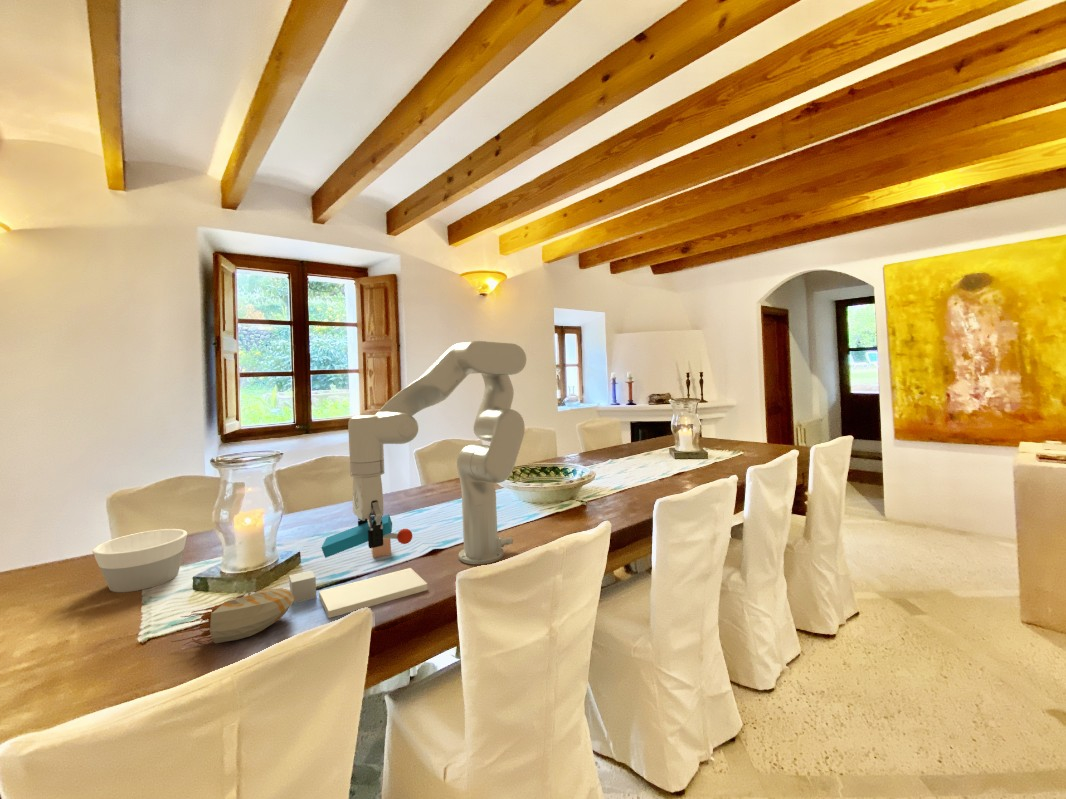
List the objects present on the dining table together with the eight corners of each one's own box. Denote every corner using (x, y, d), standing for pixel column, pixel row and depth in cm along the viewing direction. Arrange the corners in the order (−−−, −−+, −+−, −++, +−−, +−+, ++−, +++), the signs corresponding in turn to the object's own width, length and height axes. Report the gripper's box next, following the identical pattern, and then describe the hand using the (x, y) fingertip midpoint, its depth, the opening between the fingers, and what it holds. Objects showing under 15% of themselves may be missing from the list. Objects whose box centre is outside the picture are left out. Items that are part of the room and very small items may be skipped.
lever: (332, 577, 107) (414, 545, 111) (321, 547, 106) (404, 516, 110) (337, 565, 114) (414, 535, 118) (326, 537, 113) (404, 508, 117)
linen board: (410, 573, 124) (410, 567, 124) (427, 589, 114) (427, 583, 114) (319, 597, 112) (318, 591, 112) (329, 618, 102) (328, 611, 102)
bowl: (137, 599, 114) (134, 555, 114) (74, 594, 118) (71, 552, 117) (207, 567, 133) (204, 529, 132) (151, 564, 137) (148, 527, 136)
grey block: (313, 590, 116) (312, 570, 116) (316, 597, 112) (315, 576, 112) (290, 595, 113) (289, 575, 113) (292, 603, 109) (291, 582, 109)
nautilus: (157, 668, 87) (191, 630, 101) (287, 638, 93) (301, 607, 107) (152, 625, 86) (186, 594, 101) (282, 598, 93) (297, 572, 107)
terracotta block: (389, 549, 143) (388, 532, 142) (391, 554, 138) (390, 537, 138) (371, 552, 141) (370, 535, 140) (373, 557, 136) (372, 540, 136)
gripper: (342, 465, 116) (345, 535, 117) (359, 476, 102) (363, 555, 103) (373, 461, 121) (376, 529, 121) (394, 471, 106) (398, 548, 107)
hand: (370, 541), depth 112 cm, fingers closed on lever, 8 cm apart
